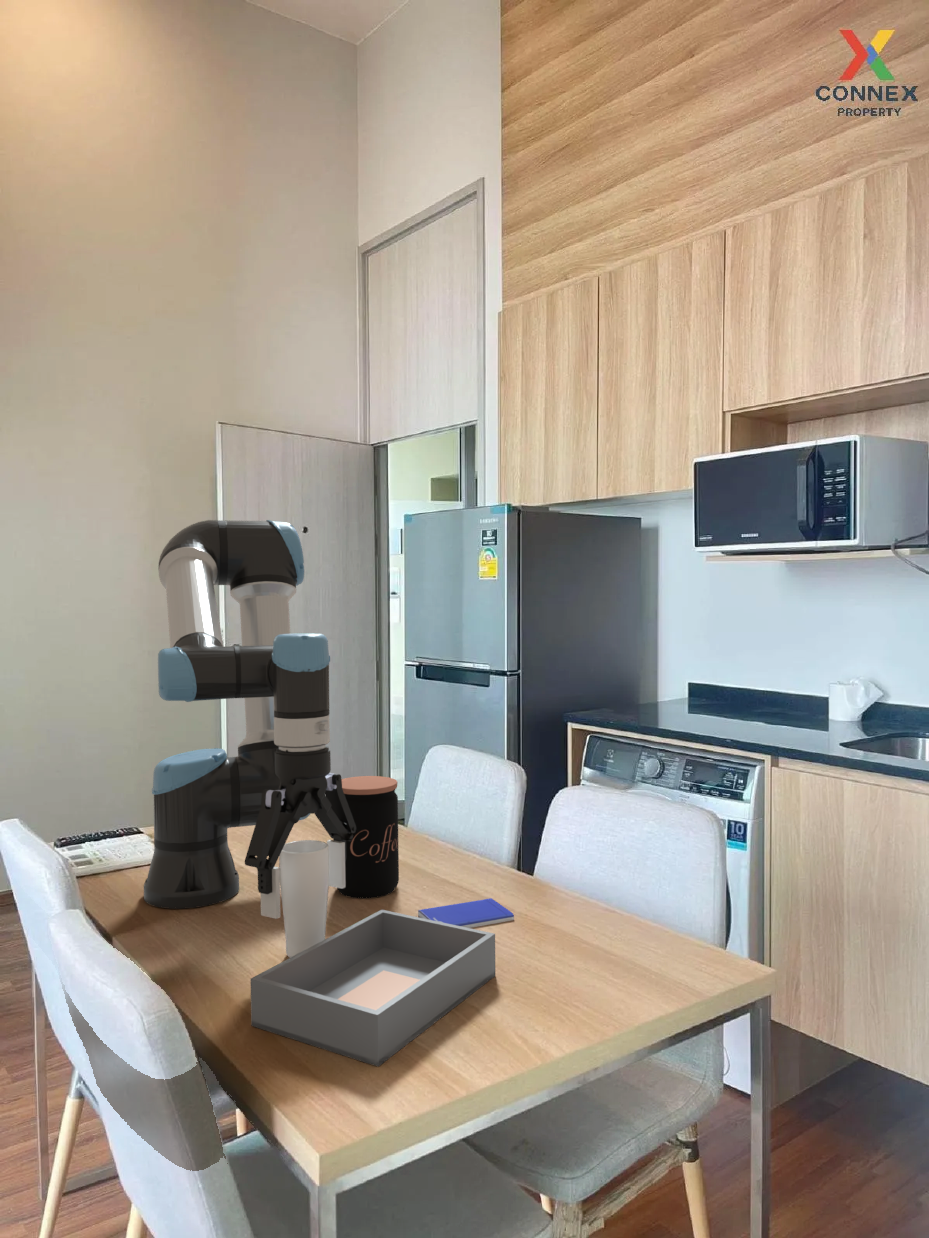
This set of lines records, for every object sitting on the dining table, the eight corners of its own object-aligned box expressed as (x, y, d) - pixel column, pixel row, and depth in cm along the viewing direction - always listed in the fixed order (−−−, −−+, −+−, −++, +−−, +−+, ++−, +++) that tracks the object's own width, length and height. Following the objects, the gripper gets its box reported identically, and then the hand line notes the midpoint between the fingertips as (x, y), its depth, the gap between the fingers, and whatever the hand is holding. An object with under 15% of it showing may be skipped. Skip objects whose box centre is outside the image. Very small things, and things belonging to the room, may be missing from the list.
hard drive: (438, 926, 131) (514, 913, 136) (417, 908, 139) (490, 896, 144) (438, 937, 131) (514, 923, 136) (417, 918, 139) (490, 906, 144)
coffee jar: (347, 904, 144) (346, 792, 143) (326, 885, 153) (324, 779, 153) (409, 893, 149) (407, 784, 148) (384, 875, 158) (383, 773, 158)
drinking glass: (283, 945, 127) (281, 840, 127) (332, 943, 128) (330, 838, 127) (277, 965, 120) (275, 854, 120) (329, 963, 121) (327, 852, 120)
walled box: (251, 1025, 104) (250, 978, 104) (382, 948, 126) (381, 909, 126) (378, 1066, 95) (377, 1014, 94) (495, 975, 117) (495, 933, 116)
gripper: (258, 764, 110) (261, 935, 111) (378, 735, 132) (380, 879, 132) (214, 759, 114) (217, 924, 115) (338, 732, 136) (340, 871, 136)
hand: (305, 900), depth 124 cm, fingers open, 13 cm apart
